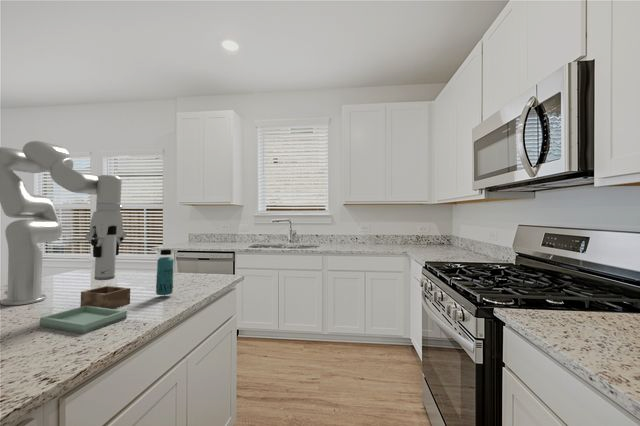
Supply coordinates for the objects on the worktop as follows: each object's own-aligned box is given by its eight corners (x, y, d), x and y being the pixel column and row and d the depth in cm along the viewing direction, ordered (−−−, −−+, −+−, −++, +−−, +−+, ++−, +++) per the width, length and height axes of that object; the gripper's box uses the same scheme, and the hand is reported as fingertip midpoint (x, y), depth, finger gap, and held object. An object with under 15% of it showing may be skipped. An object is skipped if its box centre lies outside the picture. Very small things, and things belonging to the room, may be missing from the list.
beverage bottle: (152, 297, 128) (153, 249, 128) (165, 294, 134) (166, 248, 134) (163, 299, 125) (164, 250, 125) (176, 295, 131) (177, 249, 132)
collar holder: (80, 308, 112) (80, 291, 112) (107, 300, 122) (107, 285, 122) (104, 311, 109) (104, 294, 109) (129, 303, 119) (130, 288, 119)
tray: (39, 326, 94) (40, 317, 94) (86, 312, 107) (86, 305, 107) (83, 333, 89) (83, 325, 89) (126, 318, 102) (126, 311, 102)
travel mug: (105, 281, 112) (107, 226, 112) (90, 279, 113) (92, 225, 113) (119, 277, 118) (122, 225, 118) (105, 276, 119) (107, 224, 119)
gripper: (121, 208, 125) (119, 252, 125) (77, 207, 108) (74, 258, 108) (136, 209, 123) (133, 254, 123) (93, 207, 106) (90, 259, 106)
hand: (106, 255), depth 115 cm, fingers closed on travel mug, 6 cm apart
